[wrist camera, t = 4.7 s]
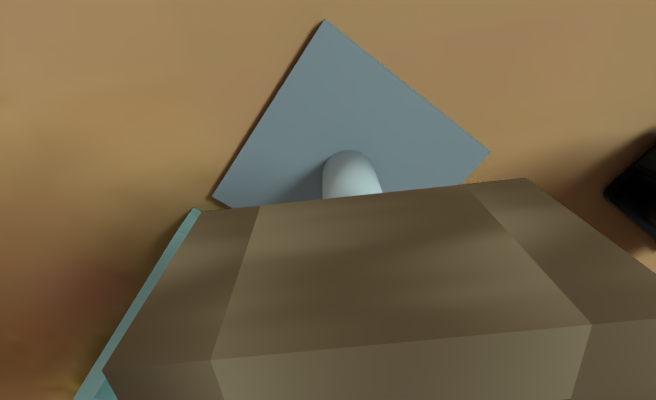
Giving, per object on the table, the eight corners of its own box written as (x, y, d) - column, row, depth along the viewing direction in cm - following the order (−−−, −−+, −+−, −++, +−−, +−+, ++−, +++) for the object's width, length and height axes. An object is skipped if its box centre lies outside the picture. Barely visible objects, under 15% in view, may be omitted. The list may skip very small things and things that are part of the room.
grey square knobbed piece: (485, 147, 18) (548, 195, 13) (363, 278, 22) (376, 355, 17) (324, 19, 16) (326, 16, 10) (214, 191, 19) (176, 251, 14)
